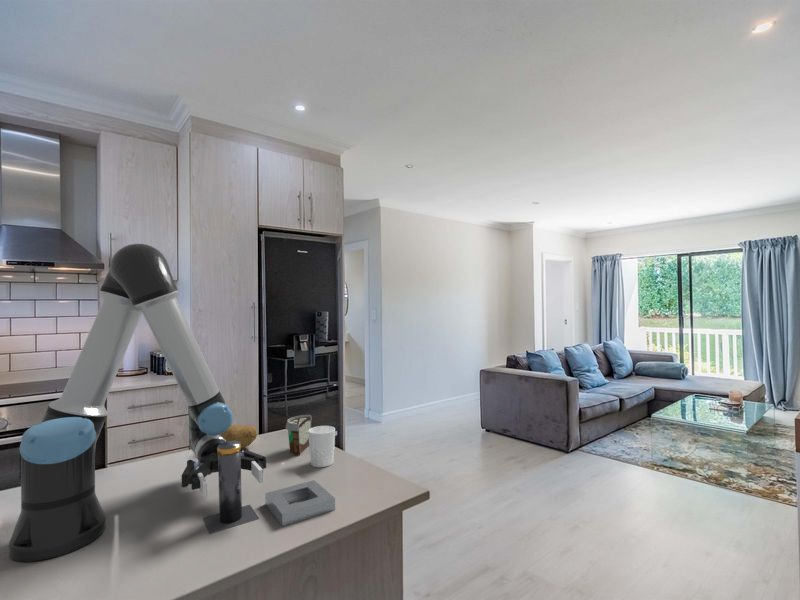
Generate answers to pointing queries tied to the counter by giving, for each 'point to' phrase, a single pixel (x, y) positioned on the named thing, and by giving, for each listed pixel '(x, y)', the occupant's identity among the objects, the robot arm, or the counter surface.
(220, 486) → the cylinder
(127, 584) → the counter surface
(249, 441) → the potato
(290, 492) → the socket
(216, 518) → the mount
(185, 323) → the robot arm
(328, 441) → the white cup
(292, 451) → the food container
